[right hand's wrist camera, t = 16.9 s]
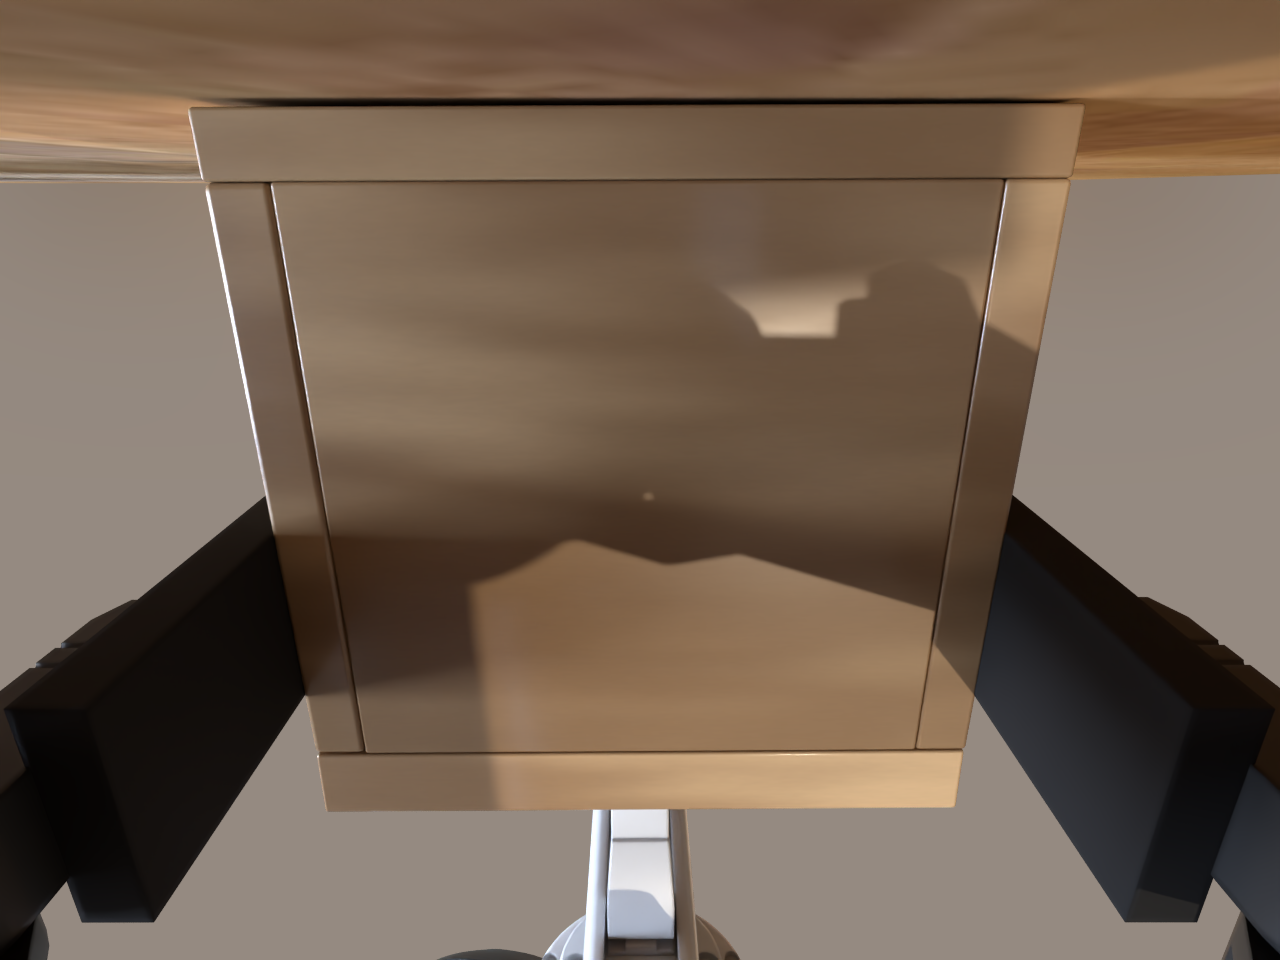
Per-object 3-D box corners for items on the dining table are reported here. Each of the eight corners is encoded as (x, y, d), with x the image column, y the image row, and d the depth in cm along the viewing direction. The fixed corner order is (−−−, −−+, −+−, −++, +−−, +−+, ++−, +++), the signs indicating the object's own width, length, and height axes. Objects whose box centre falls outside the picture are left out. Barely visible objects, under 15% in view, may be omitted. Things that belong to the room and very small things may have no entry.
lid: (790, 478, 25) (776, 707, 28) (486, 480, 25) (502, 709, 28) (964, 751, 12) (905, 1140, 15) (316, 755, 12) (379, 1145, 14)
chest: (820, 155, 21) (797, 464, 24) (452, 156, 21) (479, 465, 24) (1088, 102, 8) (966, 749, 12) (185, 106, 8) (314, 754, 12)
